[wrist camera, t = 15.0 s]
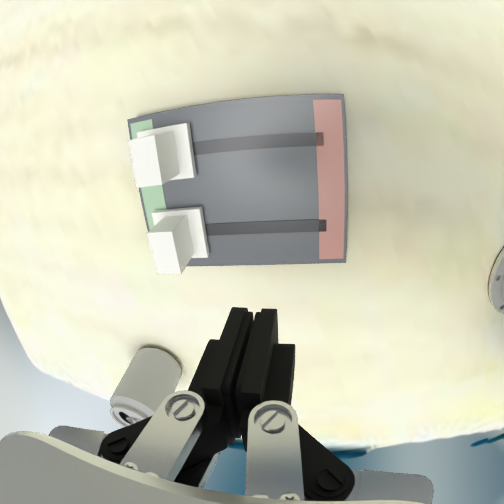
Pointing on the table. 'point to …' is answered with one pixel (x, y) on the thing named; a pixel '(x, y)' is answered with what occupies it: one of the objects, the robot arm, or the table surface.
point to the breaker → (177, 238)
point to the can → (144, 386)
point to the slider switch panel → (262, 178)
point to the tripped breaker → (162, 155)
